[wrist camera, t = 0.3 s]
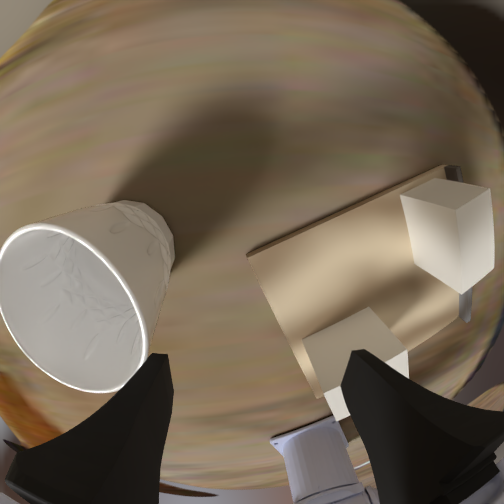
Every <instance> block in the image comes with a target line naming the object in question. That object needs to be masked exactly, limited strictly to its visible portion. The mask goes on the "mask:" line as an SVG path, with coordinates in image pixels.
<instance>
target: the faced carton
mask: <svg viewBox="0 0 504 504" xmlns="http://www.w3.org/2000/svg"><path fill="white" fill-rule="evenodd" d="M400 198H401V202H402V206H403V210H404V214H405V218H406V223H407V227H408V232H409V237H410V242H411V247H412V253H413V258H414V264H415V265H417V266H419V267H420V268H422V269H423V270H425V271H426V272H428V273H430V274H431V275H433V276H434V277H436V278H437V279H439V280H440V281H442V282H443V283H445V284H446V285H448V286H449V287H451V288H452V289H454V290H455V291H457V292H458V293H460V294H461V295H462V294H463V293H465V292H466V291H467V290H468V289H470V288H471V287H472V286H473V285H475V284H476V283H477V282H478V281H479V280H481V279H482V278H483V277H484V276H485V275H487V274H488V273H489V272H490V271H491V270H492V269H493V268H494V225H493V212H492V202H491V193H490V188H486V187H481V186H476V185H472V184H467V183H461V182H456V181H450V180H444V179H438V178H434V179H432V180H430V181H427V182H425V183H423V184H421V185H419V186H417V187H415V188H413V189H411V190H409V191H407V192H405V193H402V194H400Z"/></svg>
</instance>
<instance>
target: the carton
mask: <svg viewBox="0 0 504 504" xmlns="http://www.w3.org/2000/svg"><path fill="white" fill-rule="evenodd" d="M301 340H302V342H303V345H304V347H305V350H306V352H307V354H308V357H309V359H310V362H311V364H312V367H313V369H314V371H315V374H316V376H317V379H318V381H319V384H320V386H321V388H322V391H323V393H324V395H325V398H326V400H327V402H328V404H329V406H330V409H331V411H332V413H333V415H334V417H335V419H336V422H337V421H339V420H341V419H343V418H346V417H348V416H350V413H349V411H348V409H347V406H346V404H345V401H344V397H343V394H342V390H341V387H340V385H341V382H342V379H343V376H344V373H345V370H346V367H347V364H348V361H349V358H350V355H351V351H352V350H361V349H365V350H367V351H369V352H370V353H372V354H373V355H375V356H376V357H378V358H379V359H380V360H382V361H383V362H385V363H386V364H388V365H389V366H390V367H392V368H393V369H395V370H396V371H398V372H399V373H401V374H402V375H404V376H405V377H407V378H408V379H409V369H408V355H407V349H406V348H405V346H404V345H403V344H402V343H401V342H400V341H399V340H398V338H397V337H396V336H395V335H394V334H393V333H392V332H391V330H390V329H389V328H388V327H387V326H386V325H385V324H384V323H383V322H382V320H381V319H380V318H379V317H378V316H377V315H376V314H375V313H374V312H373V311H372V309H371V308H370V307H367V308H365V309H363V310H361V311H359V312H357V313H355V314H353V315H351V316H349V317H348V318H346V319H344V320H342V321H340V322H338V323H336V324H333V325H331V326H329V327H327V328H325V329H323V330H321V331H319V332H317V333H315V334H312V335H310V336H308V337H306V338H304V339H301Z"/></svg>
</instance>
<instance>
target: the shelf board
mask: <svg viewBox="0 0 504 504" xmlns="http://www.w3.org/2000/svg"><path fill="white" fill-rule="evenodd" d="M434 178H438V179H444V180H450V181H456V182H461V183H463V178H462V173H461V168H460V166H452V165H440V166H438V167H435V168H433V169H431V170H429V171H427V172H425V173H422V174H420V175H418V176H416V177H414V178H411V179H409V180H407V181H405V182H403V183H400V184H398V185H396V186H394V187H392V188H390V189H387V190H385V191H383V192H381V193H379V194H376V195H374V196H372V197H370V198H368V199H366V200H363V201H361V202H359V203H357V204H355V205H352V206H350V207H348V208H346V209H344V210H342V211H339V212H337V213H335V214H333V215H331V216H328V217H326V218H324V219H322V220H320V221H318V222H315V223H313V224H311V225H309V226H307V227H304V228H302V229H300V230H298V231H296V232H293V233H291V234H289V235H287V236H285V237H283V238H280V239H278V240H276V241H274V242H272V243H269V244H267V245H265V246H263V247H261V248H259V249H256V250H254V251H252V252H250V253H248V254H246V256H247V259H248V261H249V264H250V266H251V268H252V270H253V272H254V274H255V276H256V278H257V280H258V282H259V284H260V286H261V288H262V290H263V292H264V294H265V296H266V298H267V300H268V302H269V304H270V306H271V308H272V310H273V312H274V314H275V316H276V318H277V320H278V322H279V324H280V326H281V328H282V330H283V332H284V334H285V336H286V338H287V340H288V342H289V344H290V347H291V349H292V351H293V353H294V355H295V357H296V359H297V361H298V363H299V365H300V367H301V369H302V371H303V373H304V375H305V377H306V379H307V380H308V382H309V384H310V386H311V388H312V390H313V392H314V394H315V396H316V398H317V399H318V398H320V397H322V396H325V395H324V393H323V391H322V388H321V386H320V384H319V381H318V379H317V376H316V374H315V371H314V369H313V367H312V364H311V362H310V359H309V357H308V354H307V352H306V350H305V347H304V345H303V342H302V340H301V339H304V338H306V337H308V336H310V335H312V334H315V333H317V332H319V331H321V330H323V329H325V328H327V327H329V326H331V325H333V324H336V323H338V322H340V321H342V320H344V319H346V318H348V317H349V316H351V315H353V314H355V313H357V312H359V311H361V310H363V309H365V308H367V307H370V308H371V309H372V311H373V312H374V313H375V314H376V315H377V316H378V317H379V318H380V319H381V320H382V322H383V323H384V324H385V325H386V326H387V327H388V328H389V329H390V330H391V332H392V333H393V334H394V335H395V336H396V337H397V338H398V340H399V341H400V342H401V343H402V344H403V345H404V346H405V348H406V349H407V352H408V351H410V350H411V349H413V348H414V347H416V346H418V345H419V344H421V343H422V342H424V341H425V340H427V339H428V338H430V337H431V336H433V335H434V334H435V333H437V332H438V331H440V330H441V329H442V328H444V327H445V326H447V325H448V324H449V323H451V322H452V321H453V320H455V319H456V318H457V317H460V318H461V319H463V320H464V321H465V322H466V323H467V322H469V321H470V320H471V306H472V287H471V288H470V289H468V290H467V291H466V292H465V293H463V294H462V295H461V294H460V293H458V292H457V291H455V290H454V289H452V288H451V287H449V286H448V285H446V284H445V283H443V282H442V281H440V280H439V279H437V278H436V277H434V276H433V275H431V274H430V273H428V272H426V271H425V270H423V269H422V268H420V267H419V266H417V265H415V264H414V258H413V253H412V247H411V242H410V237H409V232H408V227H407V223H406V218H405V214H404V210H403V206H402V202H401V198H400V194H402V193H405V192H407V191H409V190H411V189H413V188H415V187H417V186H419V185H421V184H423V183H425V182H427V181H430V180H432V179H434Z"/></svg>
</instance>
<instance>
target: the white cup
mask: <svg viewBox="0 0 504 504" xmlns="http://www.w3.org/2000/svg"><path fill="white" fill-rule="evenodd" d="M174 259H175V251H174V239H173V235H172V233H171V231H170V229H169V227H168V226H167V224H166V222H165V220H164V218H163V217H162V216H161V215H160V214H159V213H157V212H156V211H154V210H153V209H152V208H150V207H149V206H148V205H146V204H145V203H140V202H134V201H128V200H121V201H118V202H114V203H104V204H99V205H94V206H90V207H85V208H81V209H77V210H73V211H70V212H67V213H63V214H60V215H57V216H54V217H50V218H47V219H44V220H41V221H38V222H35V223H32V224H28V225H26V226H23V227H21V228H19V229H18V230H16V231H15V232H14V233H12V234H11V235H10V236H9V238H8V239H7V240H6V241H5V243H4V245H3V246H2V248H1V250H0V311H1V314H2V317H3V319H4V322H5V324H6V326H7V328H8V330H9V332H10V334H11V335H12V337H13V339H14V340H15V342H16V343H17V344H18V346H19V347H20V348H21V350H22V351H23V352H24V353H25V355H26V356H27V357H28V358H29V359H30V360H31V361H32V362H33V363H34V364H35V365H36V366H37V367H39V368H40V369H41V370H42V371H44V372H45V373H46V374H48V375H49V376H50V377H52V378H54V379H55V380H57V381H59V382H61V383H63V384H65V385H67V386H69V387H72V388H75V389H78V390H81V391H85V392H91V393H110V392H115V391H118V390H120V389H121V388H122V387H123V386H124V385H125V384H126V383H127V382H128V380H129V379H130V378H131V377H132V376H133V375H134V374H135V373H136V371H137V370H138V369H139V368H140V367H141V366H142V364H143V363H144V362H145V361H146V359H147V358H148V354H149V350H150V346H151V342H152V339H153V335H154V332H155V328H156V325H157V321H158V318H159V315H160V311H161V308H162V305H163V301H164V298H165V295H166V290H167V287H168V283H169V278H170V270H171V267H172V265H173V262H174Z"/></svg>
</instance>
